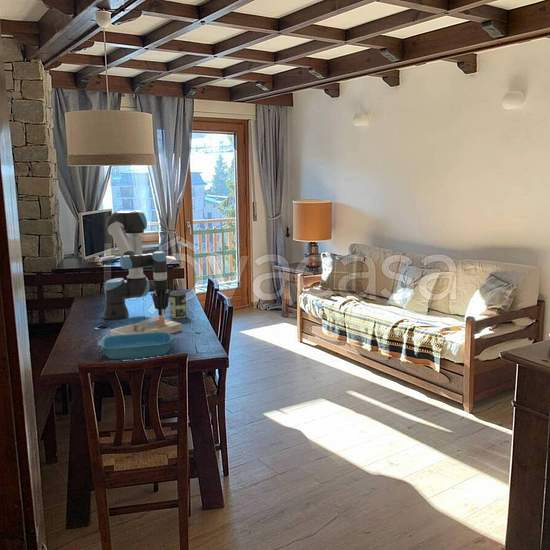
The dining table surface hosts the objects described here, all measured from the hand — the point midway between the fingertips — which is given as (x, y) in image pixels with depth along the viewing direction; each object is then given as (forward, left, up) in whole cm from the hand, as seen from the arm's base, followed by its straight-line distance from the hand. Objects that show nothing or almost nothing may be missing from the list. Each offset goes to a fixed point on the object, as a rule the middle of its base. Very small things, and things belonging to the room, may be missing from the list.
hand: (162, 320), depth 318 cm
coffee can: (-16, +26, -6) cm, 31 cm away
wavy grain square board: (0, -4, -5) cm, 6 cm away
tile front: (0, -10, -1) cm, 10 cm away
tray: (0, -21, -5) cm, 22 cm away
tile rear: (0, -4, -1) cm, 4 cm away
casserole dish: (+23, -36, -6) cm, 43 cm away
